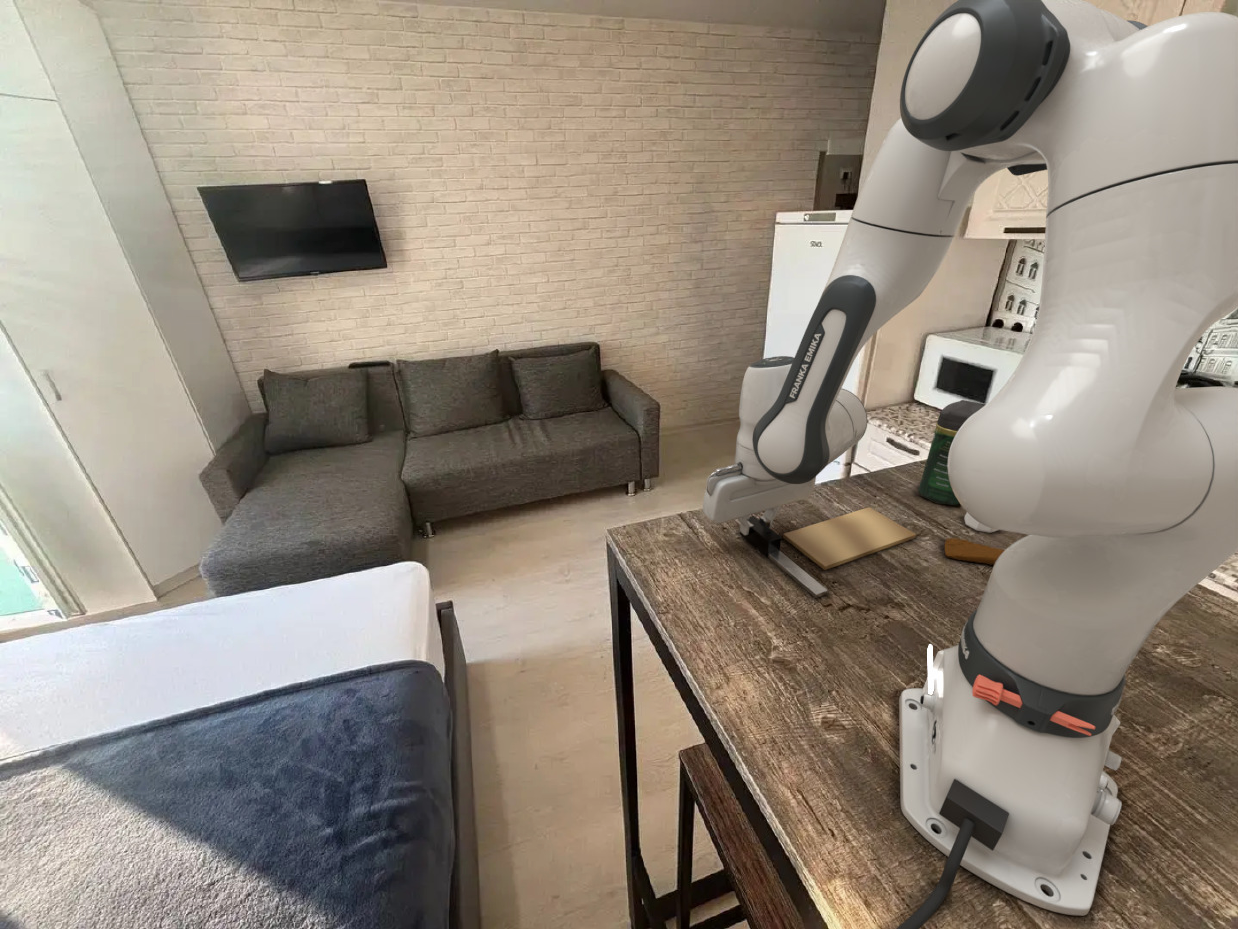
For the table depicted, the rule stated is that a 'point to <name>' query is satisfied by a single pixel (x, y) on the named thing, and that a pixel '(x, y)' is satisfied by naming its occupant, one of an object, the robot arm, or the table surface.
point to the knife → (781, 556)
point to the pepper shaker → (977, 524)
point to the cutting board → (848, 537)
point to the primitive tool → (971, 551)
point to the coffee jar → (944, 452)
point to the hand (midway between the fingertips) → (755, 529)
